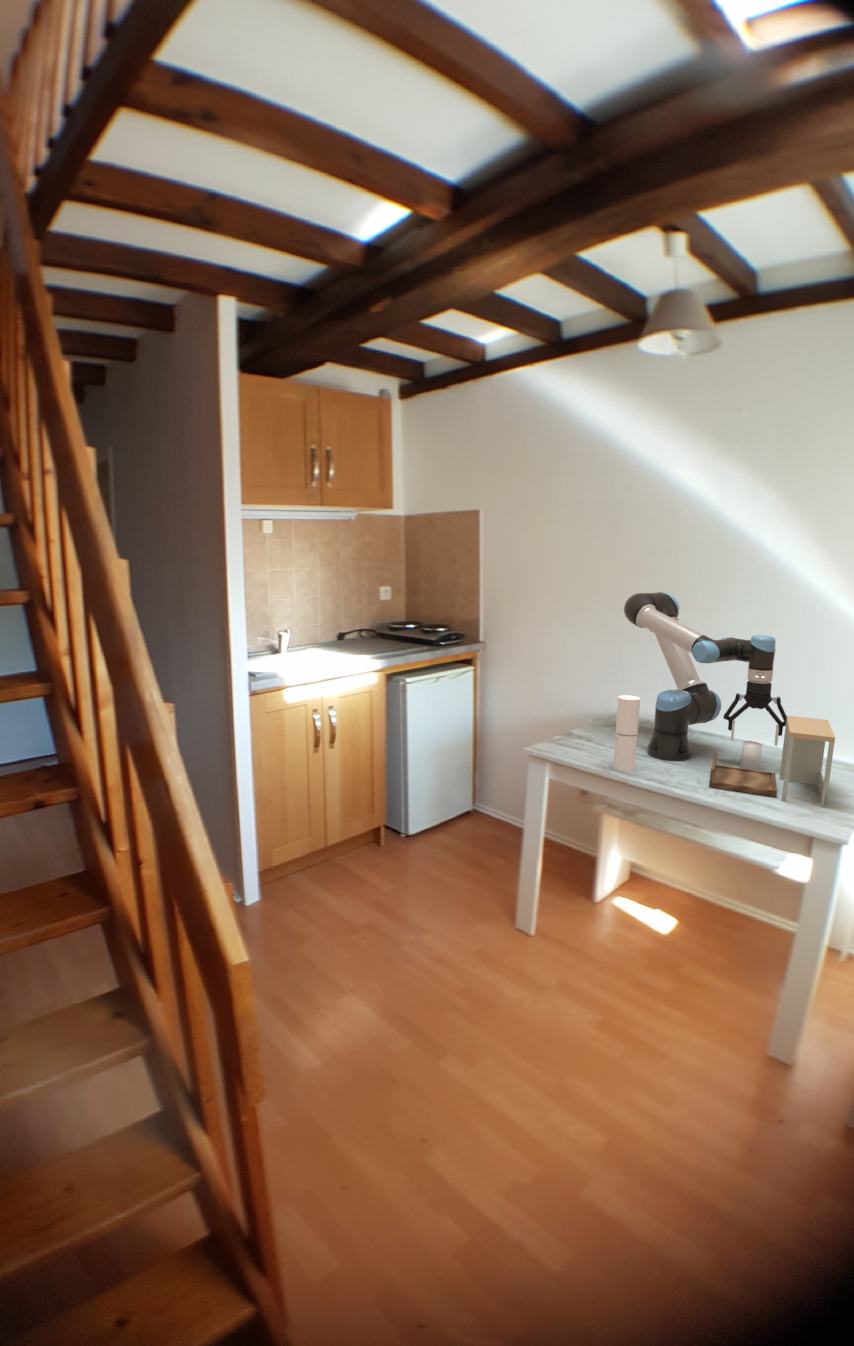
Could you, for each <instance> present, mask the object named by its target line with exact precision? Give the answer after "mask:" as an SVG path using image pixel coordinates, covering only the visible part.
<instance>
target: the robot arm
mask: <svg viewBox="0 0 854 1346" xmlns="http://www.w3.org/2000/svg"><path fill="white" fill-rule="evenodd" d="M679 611H680V605H679V602H678V600H677V598H676V597H675V596H674V595H672V594H671V593H668V592H660V591H659V592H658V591H657V592H642V593H641V592H638V593H635V594H633V595H631V596H629V597H628V598H627V600H626V601H625V603H624V607H623V613H624V616H625V618H626V619H627V621H629V622H630V623H631V624H633V625H634V626H636V627H638V628H639V629H647V630H648V631H649V632H651V633H654V635H655V637H656V640H657V642H658V645H659V647H660V649H661V652H662V655H663V656H664V659H665V661H666V664H667V666H668V668H669V670H670V673H671V675H672V678H673V681H674V683H675V686H676V687H677V689H669V690H668V689H667V690H663V691H661V692H659V693H658V694H657V696H656V701H655V705H654V706H655V713H654V725H653V727H654V728H653V734H652V736H651V738H650V741H649V742H648V745H647V748H646V749H647V750H646V753H647V754H648V755H649V756H650V757H653V758H656V759H659V760H665V761H672V762H673V761H674V762H675V761H676V762H677V761H687V760H689V759H691V757H692V749H691V745H690V741H689V737H688V733H689V732H688V731H689V726H690V725H691V726H692V725H697V724H706V723H708V722H711V721H713V720H716V718H718V716H719V715H720V712H721V710H722V700H721V698H720V697H719V695H718V693H716V692H715V691H713V690H711V689H709V686H708V684H707V682H705V681H702V680H701V679H700V677H699V674H698V672H697V670H696V667H695V666H694V663H693V661H692V658H691V656H690V654H691V655H692V657H693V658H694V660H695V661H696V662H697V663H699V664H712V663H714V664H715V663H720V662H730V661H738V662H739V661H740V662H745V663H748V670H747V677H746V679H747V680H748V681H746V689H745V694H742V693H741V694H740V693H739V692H736V693H735V698H734V700H733V701H732V703H731V704H730V705H729V707H728V709H727V710H726V712H725V713H724V715H723V719H724V720H726V721H728V725H727V726H728V727H727V730H728V731H731V732H730V741H731V742H733V741H734V736H735V735H734V734H735V723H736V719H737V717H739V716H740V715H742V714H743V713H744V711H746V710H748V709H749V708H751V709H757V710H763V709H765V710H766V712H768V714H769V715H770V716H771V717H772V719H773V720H774V721H775V722H776V723H777V724H776V725H775V736H774V746H778V741H779V737H782V736H783V731H784V730H783V729H784V727H786V719H787V716H788V715H787V714H786V712H785V709H784V707H783V705H782V700H781V697H780V696H775V697H773V696H772V694H771V693H772V686H773V685H772V681H773V676H774V660H775V656H776V655H775V654H776V638H775V637H774V636H771V635H761V634H755V635H752V636H751V638H750V640H749V639H742V638H735V637H722V638H721V639H713V638H711V637H709V636H707V635H705V634H703V633H701V632H699V631H697V629H696V630H695V629H694V628H692V627H689V626H688V625H686V624H684V623H682V622H680V621H679V617H678V616H679V613H680V612H679ZM743 699H744V701H745V703H744V704H743V705H742V706H741V707H739V709H737V710H736V711H734V709H735V708H736V706H737V705H738V703H739V701H742V700H743ZM771 702H773V703H774V705H775V704H776V706H777V709H778V710H779V711H778V712H779V713H780V716H781V718H782V720H783V721H782V720H781V719H780V717H779V716H778V714H776V712H774V710H773V708H771V706H770V703H771ZM733 711H734V713H733V714H732V712H733ZM731 714H732V715H731Z"/></svg>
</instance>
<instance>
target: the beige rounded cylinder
mask: <svg viewBox="0 0 854 1346" xmlns="http://www.w3.org/2000/svg"><path fill="white" fill-rule="evenodd" d="M762 748H763V743H760V742H758V741H754V740H753V741H752V740H745V741H742V747H741V756H740V765H739V766H740V767H739V768H742V769H749V770H756V771H760V766H761V759H762V757H761V756H762Z"/></svg>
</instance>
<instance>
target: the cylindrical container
mask: <svg viewBox="0 0 854 1346" xmlns="http://www.w3.org/2000/svg"><path fill="white" fill-rule="evenodd" d="M640 707H641V698H640V696H635V695H628V694H627V695H626V694H624V695H618V697H617V709H616V721H615V722H616V725H615V735H614V736H615V738H614V752H613V762H612V763H613V766H612V767H614V768H616V769H617V770H616V771H618V770H621V771H620V772H622V771H632V772H634V771H635V770H636V759H637V746H638V745H637V743H638V730H639V721H640V720H639V718H640ZM614 768H613V769H614ZM633 770H634V771H633Z"/></svg>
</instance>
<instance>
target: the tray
mask: <svg viewBox="0 0 854 1346" xmlns="http://www.w3.org/2000/svg"><path fill="white" fill-rule="evenodd" d="M717 760H718V752H713V757H712V761H711V766H710V776H709V784H708V785H709V786H708V787H710V788H717V789H718V788H719V789H724V790H729V791H737V792H742V793H748V794H749V793H750V794H756V795H762V796H769V797H777V792H778V790H777V789H778V788H777V777H776V773H775V772H769V771H764V770H763V771H762V770H759V771H756V770H749V769H742V768H740V767H734V766H727V765H719V764H717Z"/></svg>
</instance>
